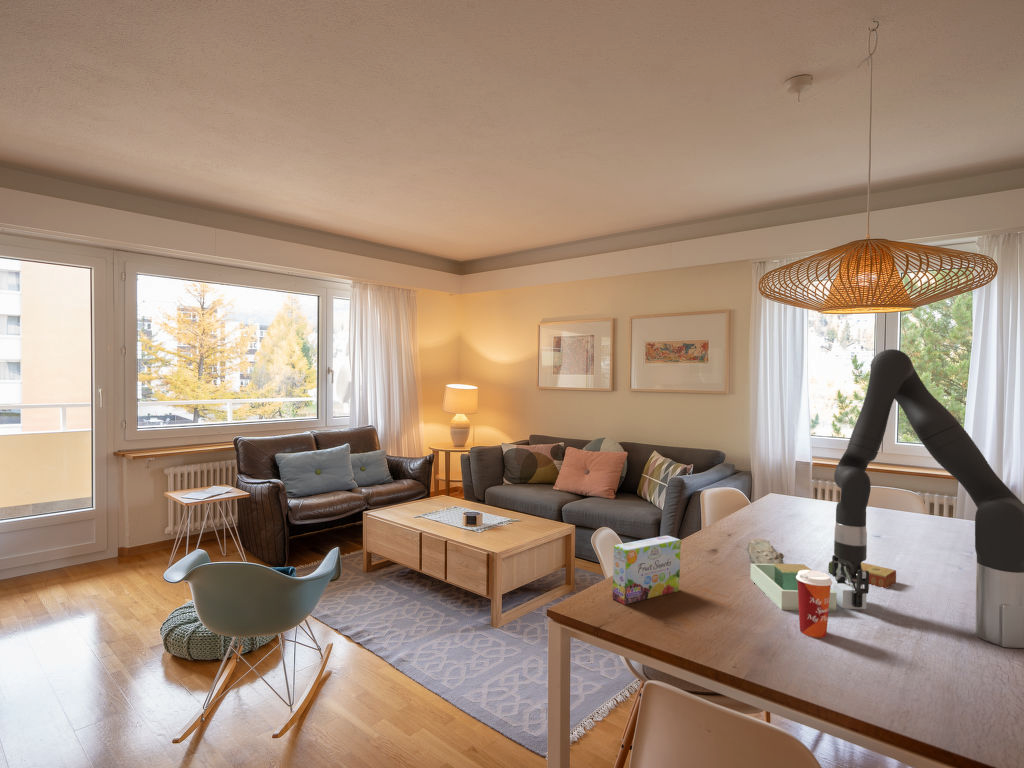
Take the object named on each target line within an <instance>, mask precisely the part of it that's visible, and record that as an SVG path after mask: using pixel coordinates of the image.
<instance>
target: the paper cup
mask: <svg viewBox="0 0 1024 768" xmlns="http://www.w3.org/2000/svg"><path fill="white" fill-rule="evenodd" d="M829 575H830V574H827V573H824V572H821V571H818V570H812V569H811V570H800V571H799V572H798V575H797V576H796V579H797V582H798V604H799V610H798V619H799V624H798V625H799V631H800V633H802V634H803V635H805V636H808V637H811V638H817V639H823V638H826V637H827V633H828V632H827V631H828V623H829V620H828V619H829V599H830V588H831V585H832V584H833V581H832V579H831V576H829Z"/></svg>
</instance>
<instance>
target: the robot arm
mask: <svg viewBox="0 0 1024 768" xmlns="http://www.w3.org/2000/svg"><path fill="white" fill-rule="evenodd" d="M869 373H870V374H869V380H868V385H867V389H866V394H865V398H864V400H863V404H862V406H861V409H860V412H859V414H858V416H857V420H856V422H855V425H854V427H853V430H852V433H851V435H850V438H849V441H848V444H847V448H846V450H845V452H844V453H843V454H842V455H841V459H840V460H839V461H838V464H837V465H836V467H835V471H834V473H833V478H834V479H833V480H834V483H835V484H836V486H837V487H838V488H839V489H840V501H838V502H837V503H836V507H835V526H834V538H833V539H834V541H833V543H834V544H833V555H832V557H831V561H832V574H831V576H832V577H834V578H835V581H836V583H843V584H851V587H852V591H853V592H852V605H853V606H854V607H862V595H863V593H864V594H866V595H867V594H869V593H870V592H869V589H870V588H869V587H870V584H869V571H865V570H862V567H861V562H862V563H863V562H865V561H866V560H867V556H868V555H867V553H868V552H867V551H868V549H867V548H868V545H867V544H868V533H867V532H868V531H867V507H868V504H869V499H870V496H871V485H872V483H871V479H870V476H869V474H868V473H867V472H866V470H867V468H868V466H869V464H870V462H873V461H875V459H876V458H877V455H878V454H879V450H880V448H881V445H882V442H883V439H884V437H885V433H886V429H887V426H888V420H889V416H890V412H891V409H892V407H893V403H894V401H896V402H897V403H898V405H899V406H900V407H901V409H902V411H903V412H904V415H905V416H906V419H907V420H908V423H909V424H910V426H911V427H912V430H913V431H914V433H915V434H916V436H917V437H918V439H919V440H920V441H921V443H922V445H923V446H924V447H925V449H926V450H927V451H928V452H929V454H930V456H931V457H932V458H933V459H934V460H935V462H936V463H938V464H939V465H940V466H941V467H942V468H943V469H944V470H945V471H946V472H947V473H949V474H950V476H952V477H953V478H954V479H955V480H956V481H957V482H959V484H960V485H961V486H962V487H963V488H964V490H965V491H966V492H967V494H968V495H969V496H970V498H971V500H972V501H973V503H974V505H975V507H976V508H977V509H976V511H975V518H974V548H975V554H976V569H975V570H976V572H975V574H976V576H975V577H976V578H975V585H976V586H975V625H974V626H975V627H974V629H975V631H974V632H975V635H976V636H978V638H980V639H982V640H984V641H986V642H989V643H992V644H995V645H998V646H1000V647H1002V648H1016V649H1017V648H1018V649H1019V648H1021V649H1024V503H1023V502H1022V501H1021V500H1020V498H1018V496H1016V494H1015V493H1013V492H1012V490H1011V489H1010V488H1009V487H1008V486H1007V485H1006V484H1005V483H1004V482H1003V481H1002V480H1001V478H1000V477H999V476H998V475H997V474H996V472H995V471H994V469H992V467H991V466H990V464H989V461H987V459H986V458H985V456H984V454H983V453H982V451H981V450H980V449H979V447H978V446H977V444H976V443H975V441H974V440H973V439H972V437H971V436H970V435H969V433H968V432H967V431H966V429H965V428H964V427H963V426H962V425H961V423H960V422H959V421H958V419H957V418H956V417H955V416H954V415H953V414H952V413H951V412H950V410H948V409H947V407H945V405H943V404H942V403H941V402H940V401H939V400H937V398H936V397H934V396H933V395H932V394H931V392H930V391H929V389H928V388H927V387H926V385H925V384H924V382H923V381H922V379H921V377H920V376H919V374H918V372H917V371H916V369H915V366H914V365H913V362H912V360H911V358H910V357H909V355H908V354H907V353H904V352H903V351H901V350H899V349H894V348H892V349H885V350H883V351H880V352H879V353H877V355H875V356H874V357H873V358H872V361H871V362H870V372H869ZM837 568H838V569H837ZM836 569H837V571H836ZM847 582H848V583H847ZM855 584H857V585H856V586H855Z"/></svg>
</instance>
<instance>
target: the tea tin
mask: <svg viewBox="0 0 1024 768" xmlns="http://www.w3.org/2000/svg"><path fill="white" fill-rule="evenodd" d="M774 566H775V579H774V582H775V583H776V584H777V585H779V586H780V587H781V588H782V589H783V590H798V582H797V579H796V576H797V575H798V572H799V571H800V570H812V569H811V568H809V567H808V566H807V565H805V564H803V563H784V564H775V563H774Z"/></svg>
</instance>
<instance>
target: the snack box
mask: <svg viewBox="0 0 1024 768" xmlns="http://www.w3.org/2000/svg"><path fill="white" fill-rule="evenodd" d="M681 544H682V540H681V539H679V538H677V537H674V536H671V535H663V536H662V535H660V536H656V537H651V538H646V539H640V540H635V541H631V542H626V543H625V542H624V543H619V544H618V543H617V544H615V545H613V567H612V570H613V571H612V572H613V573H612V599H613V600H616V601H617V602H619V603H620V604H623V605H624V606H625V605H629V604H632V603H636V602H640V601H644V600H648V599H651V598H655V597H656V598H657V597H659V596H663V595H668V594H672V593H675V592H679V591H680V574H681V573H680V572H681V551H682V549H681V548H682V547H681V546H682V545H681Z"/></svg>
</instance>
